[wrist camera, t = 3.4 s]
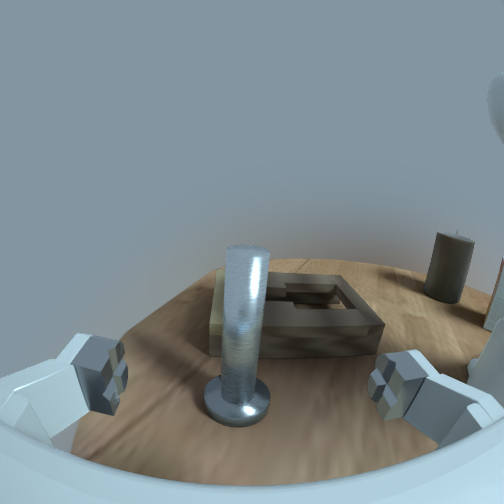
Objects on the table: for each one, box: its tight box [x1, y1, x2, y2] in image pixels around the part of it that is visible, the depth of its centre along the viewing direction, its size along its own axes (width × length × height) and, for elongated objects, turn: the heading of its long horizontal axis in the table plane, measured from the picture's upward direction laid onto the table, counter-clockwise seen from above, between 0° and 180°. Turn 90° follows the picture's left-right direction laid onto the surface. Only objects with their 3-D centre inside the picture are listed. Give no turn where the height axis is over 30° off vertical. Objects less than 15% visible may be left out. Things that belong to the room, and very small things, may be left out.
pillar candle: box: [424, 231, 475, 304], centre depth 50 cm, size 10×10×15 cm
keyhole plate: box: [209, 269, 385, 358], centre depth 39 cm, size 21×17×4 cm
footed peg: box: [204, 245, 270, 427], centre depth 22 cm, size 6×6×15 cm
